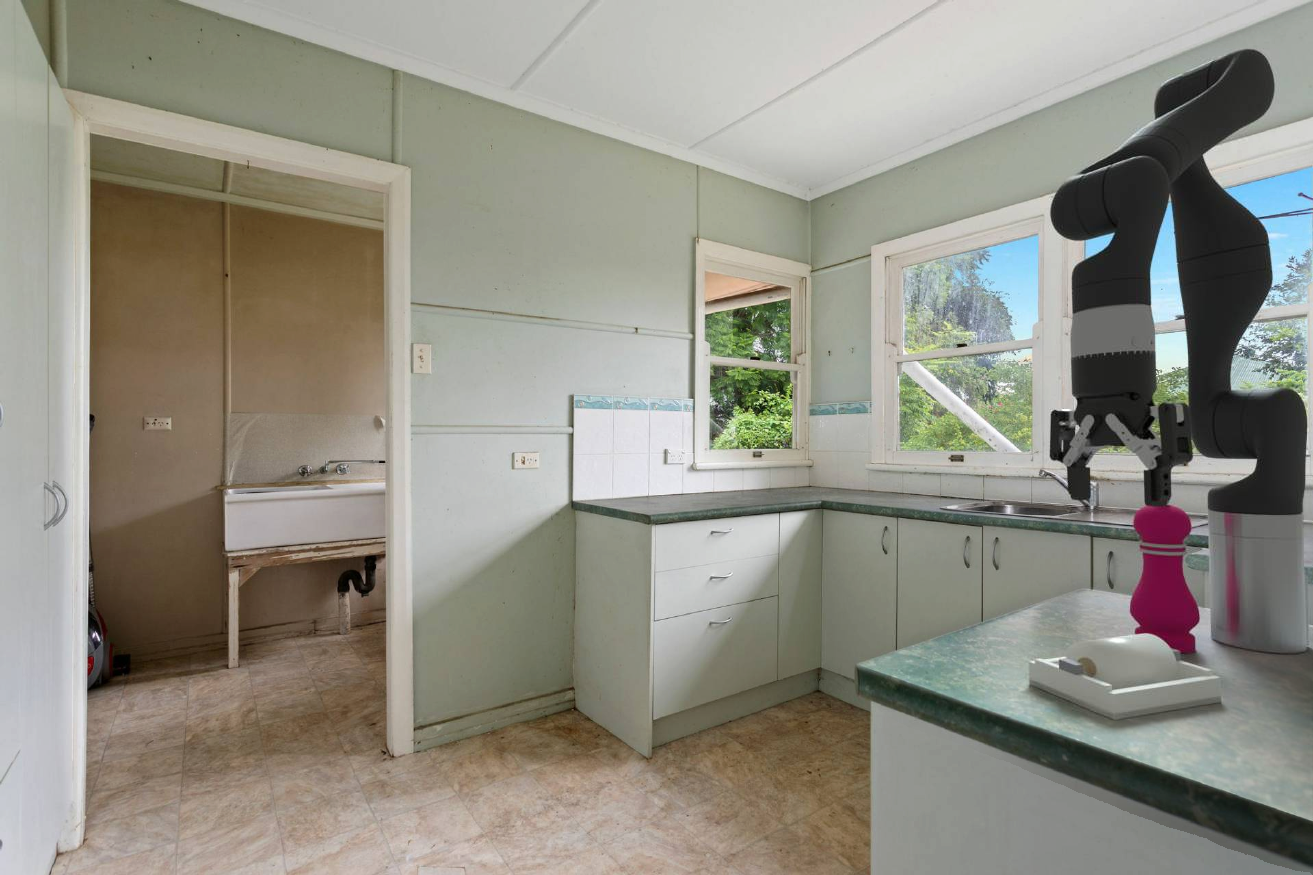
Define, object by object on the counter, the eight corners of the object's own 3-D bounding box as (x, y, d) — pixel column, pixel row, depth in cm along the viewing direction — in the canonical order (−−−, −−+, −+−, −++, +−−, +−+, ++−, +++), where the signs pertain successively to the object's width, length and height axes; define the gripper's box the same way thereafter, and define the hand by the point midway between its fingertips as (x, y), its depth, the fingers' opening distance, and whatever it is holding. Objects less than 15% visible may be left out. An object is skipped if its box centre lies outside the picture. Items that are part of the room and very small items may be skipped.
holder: (1127, 669, 77) (1126, 635, 77) (1221, 701, 67) (1220, 662, 67) (1028, 684, 73) (1027, 648, 73) (1113, 720, 63) (1112, 678, 63)
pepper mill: (1214, 656, 81) (1210, 494, 81) (1148, 653, 83) (1144, 494, 83) (1180, 639, 88) (1176, 490, 88) (1119, 636, 90) (1116, 490, 90)
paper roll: (1132, 674, 74) (1129, 628, 74) (1180, 690, 69) (1177, 640, 69) (1064, 684, 71) (1062, 636, 71) (1109, 701, 66) (1107, 649, 66)
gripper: (1208, 343, 65) (1213, 507, 65) (1079, 361, 79) (1083, 496, 79) (1151, 341, 63) (1156, 511, 63) (1029, 360, 77) (1033, 499, 77)
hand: (1116, 502), depth 71 cm, fingers open, 8 cm apart
